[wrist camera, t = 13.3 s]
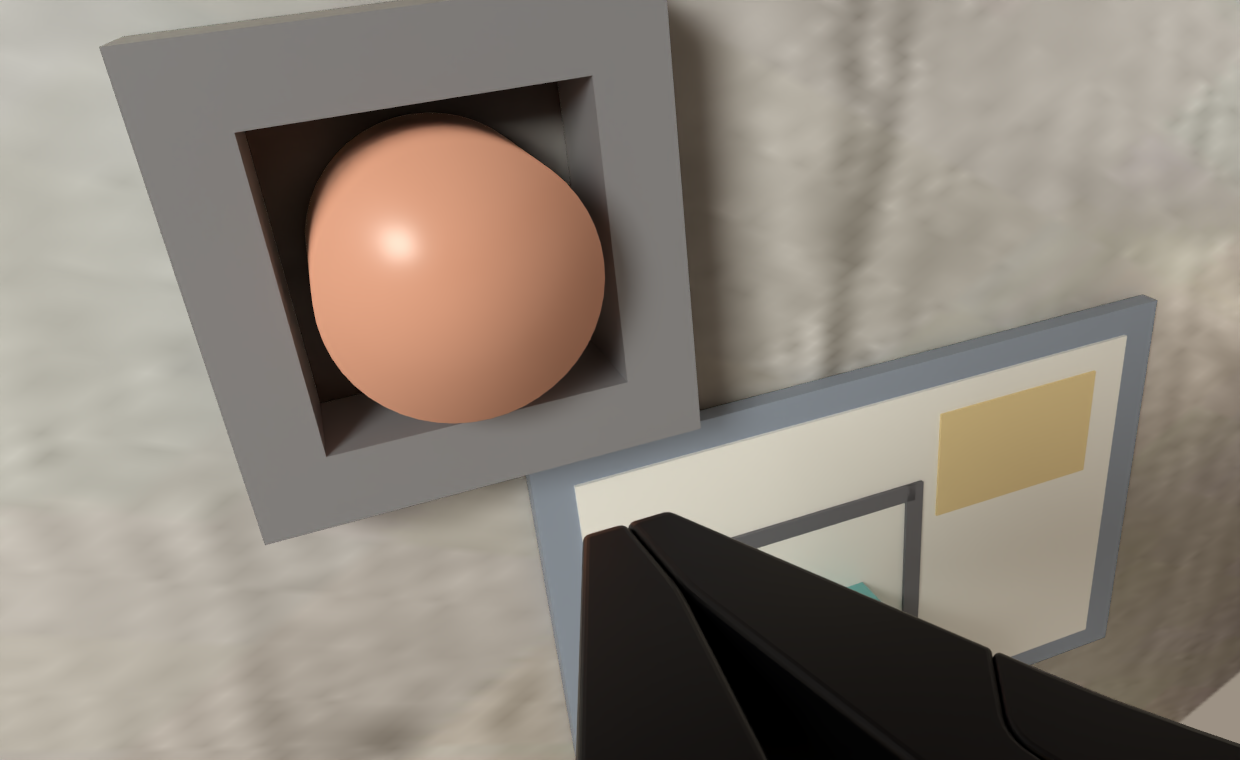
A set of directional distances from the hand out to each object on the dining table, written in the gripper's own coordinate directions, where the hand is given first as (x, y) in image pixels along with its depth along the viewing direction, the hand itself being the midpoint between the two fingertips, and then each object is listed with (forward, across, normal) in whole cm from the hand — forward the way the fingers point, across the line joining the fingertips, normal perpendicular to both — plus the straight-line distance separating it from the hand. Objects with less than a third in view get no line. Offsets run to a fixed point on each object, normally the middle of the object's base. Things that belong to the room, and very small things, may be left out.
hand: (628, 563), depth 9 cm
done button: (+12, 0, 0) cm, 12 cm away
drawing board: (+12, -10, +12) cm, 19 cm away
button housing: (+12, 0, 0) cm, 12 cm away
